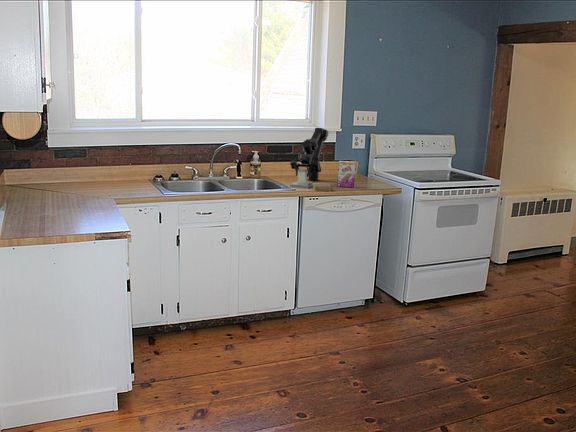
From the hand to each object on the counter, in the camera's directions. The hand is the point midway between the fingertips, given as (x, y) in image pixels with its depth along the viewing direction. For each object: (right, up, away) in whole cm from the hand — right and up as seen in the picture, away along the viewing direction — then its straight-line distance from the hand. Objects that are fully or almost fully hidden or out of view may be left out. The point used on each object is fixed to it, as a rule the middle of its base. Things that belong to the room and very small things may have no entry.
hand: (301, 176), depth 371 cm
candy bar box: (+29, -6, +8) cm, 31 cm away
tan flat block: (+12, -9, -7) cm, 16 cm away
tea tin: (0, -5, +2) cm, 5 cm away
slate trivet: (0, -6, +3) cm, 7 cm away
